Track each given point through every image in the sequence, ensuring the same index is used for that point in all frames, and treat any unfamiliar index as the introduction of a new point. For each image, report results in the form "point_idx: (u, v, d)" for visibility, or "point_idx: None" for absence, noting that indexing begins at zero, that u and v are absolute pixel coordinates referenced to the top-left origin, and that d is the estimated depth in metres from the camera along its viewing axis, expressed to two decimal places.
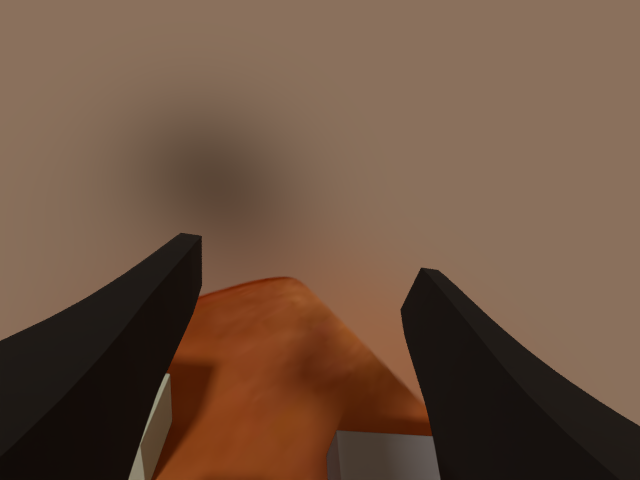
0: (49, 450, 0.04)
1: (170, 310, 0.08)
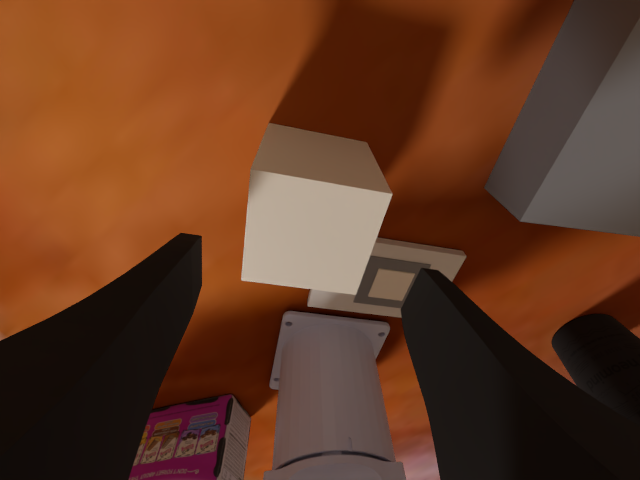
0: (49, 450, 0.04)
1: (170, 309, 0.08)
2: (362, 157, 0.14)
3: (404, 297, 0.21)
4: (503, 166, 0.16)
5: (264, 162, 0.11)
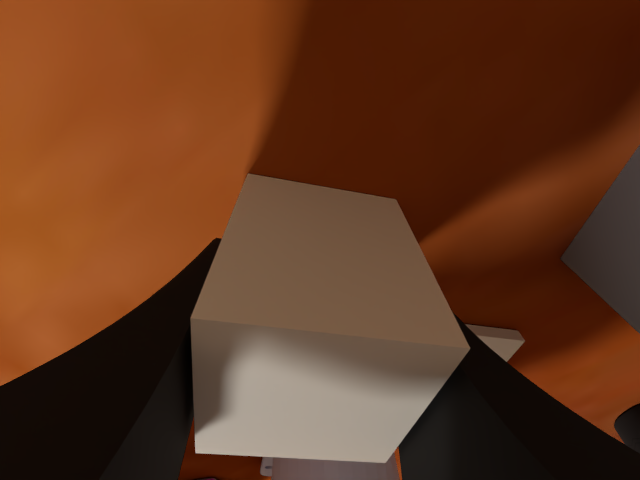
0: (136, 455, 0.04)
1: None
2: (396, 241, 0.09)
3: None
4: (599, 236, 0.11)
5: (224, 287, 0.06)
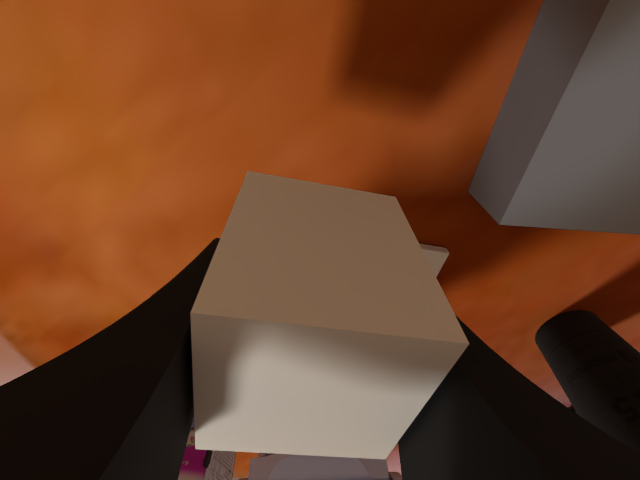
0: (136, 455, 0.04)
1: None
2: (396, 238, 0.09)
3: None
4: (484, 170, 0.17)
5: (223, 283, 0.06)
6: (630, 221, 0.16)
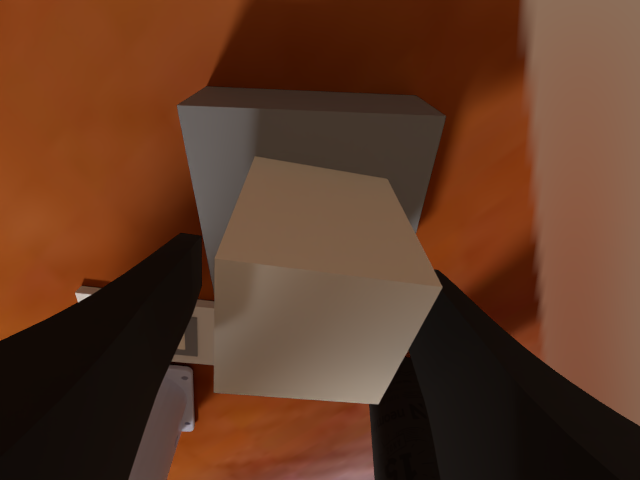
0: (49, 450, 0.04)
1: (171, 310, 0.08)
2: (386, 210, 0.10)
3: (186, 346, 0.22)
4: None
5: (239, 239, 0.07)
6: None
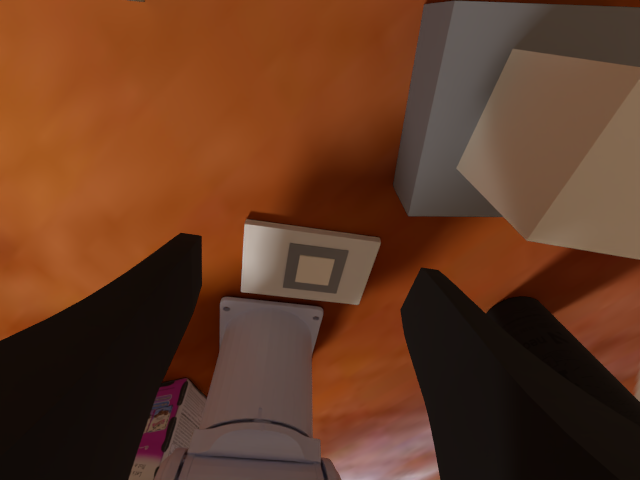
0: (49, 450, 0.04)
1: (170, 309, 0.08)
2: None
3: (329, 282, 0.23)
4: (399, 165, 0.18)
5: (632, 67, 0.08)
6: None
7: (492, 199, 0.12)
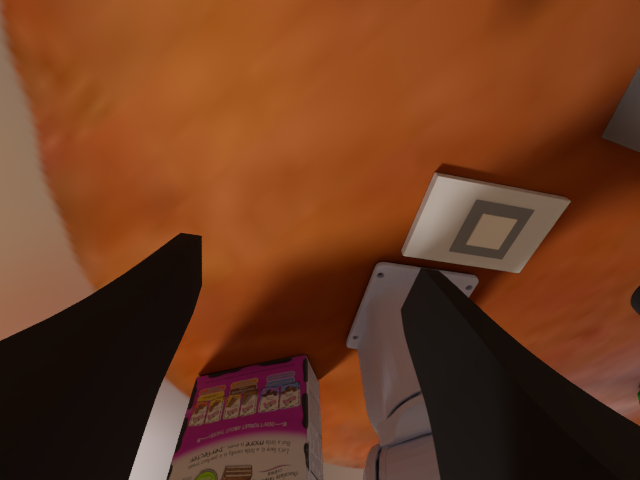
0: (49, 450, 0.04)
1: (171, 310, 0.08)
2: None
3: (501, 246, 0.22)
4: (626, 111, 0.17)
5: None
6: None
7: None
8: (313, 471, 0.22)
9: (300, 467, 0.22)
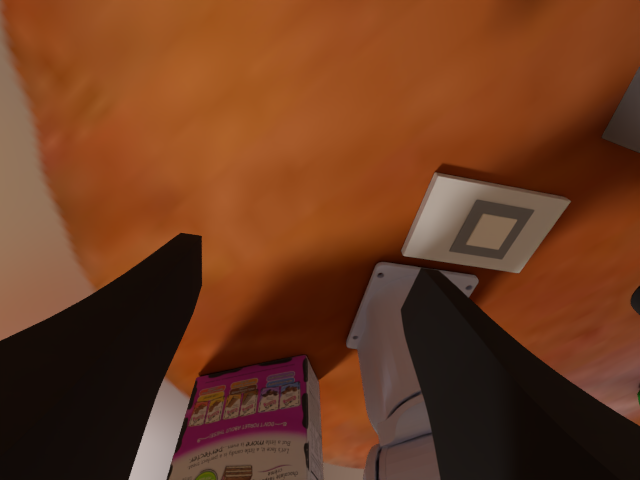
0: (49, 450, 0.04)
1: (171, 310, 0.08)
2: None
3: (501, 246, 0.22)
4: (627, 111, 0.17)
5: None
6: None
7: None
8: (313, 471, 0.22)
9: (301, 466, 0.22)
